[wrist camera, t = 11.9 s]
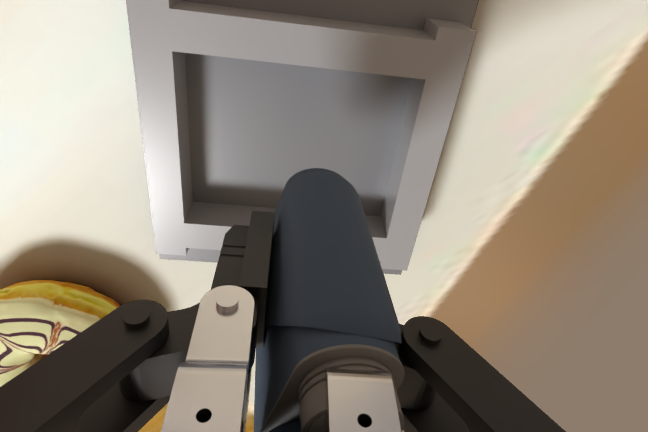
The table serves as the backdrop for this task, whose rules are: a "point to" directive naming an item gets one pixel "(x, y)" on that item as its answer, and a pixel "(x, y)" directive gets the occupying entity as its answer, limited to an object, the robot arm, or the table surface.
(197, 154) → the tray
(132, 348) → the robot arm
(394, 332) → the vaping device
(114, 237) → the table surface
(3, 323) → the decorated donut
